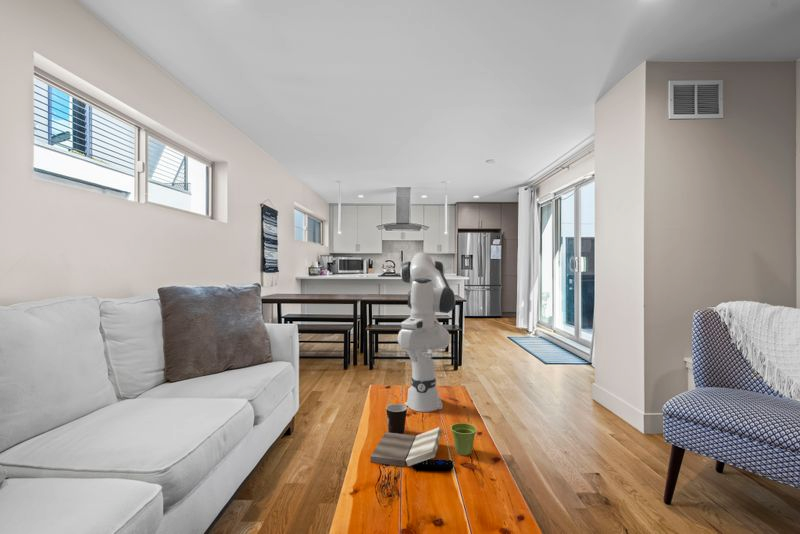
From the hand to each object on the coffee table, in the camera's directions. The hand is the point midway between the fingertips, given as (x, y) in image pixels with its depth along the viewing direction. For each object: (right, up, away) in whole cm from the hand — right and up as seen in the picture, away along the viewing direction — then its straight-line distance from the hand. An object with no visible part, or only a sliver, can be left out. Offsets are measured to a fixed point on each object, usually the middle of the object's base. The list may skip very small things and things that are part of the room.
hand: (421, 359), depth 136 cm
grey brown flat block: (-10, -33, -1) cm, 35 cm away
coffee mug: (-9, -34, +17) cm, 39 cm away
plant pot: (+15, -34, -1) cm, 37 cm away
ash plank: (+1, -31, -3) cm, 31 cm away
